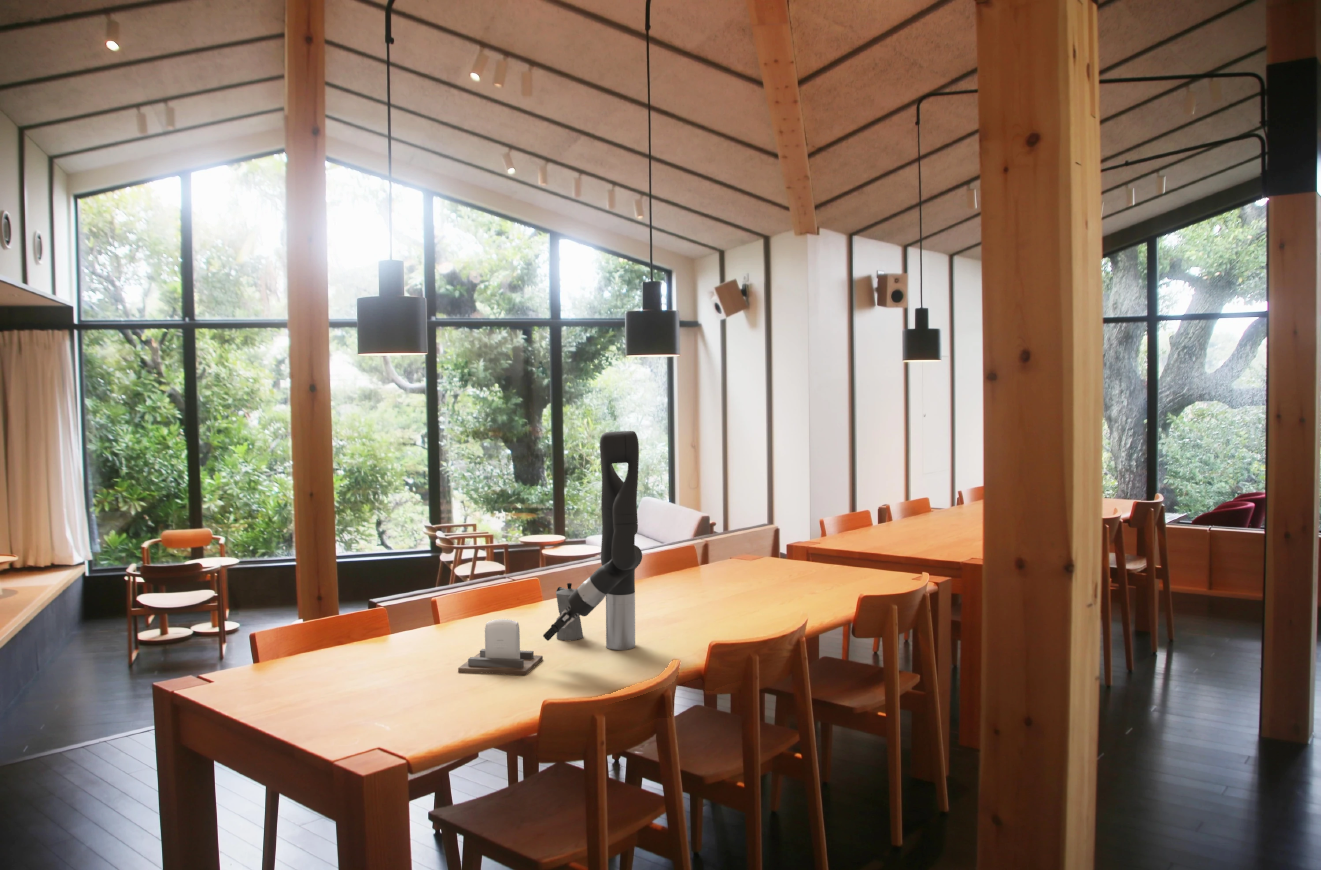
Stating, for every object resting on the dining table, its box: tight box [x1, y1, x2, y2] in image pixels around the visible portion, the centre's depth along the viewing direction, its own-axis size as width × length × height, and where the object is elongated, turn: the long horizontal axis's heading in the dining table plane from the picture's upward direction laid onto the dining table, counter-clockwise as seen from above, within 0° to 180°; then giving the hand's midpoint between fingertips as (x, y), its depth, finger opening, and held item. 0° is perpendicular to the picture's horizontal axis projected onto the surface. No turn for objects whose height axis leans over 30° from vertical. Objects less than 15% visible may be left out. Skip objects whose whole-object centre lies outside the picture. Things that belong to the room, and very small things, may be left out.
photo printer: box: [484, 618, 521, 659], centre depth 253 cm, size 10×4×12 cm, turn 85°
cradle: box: [457, 648, 544, 676], centre depth 253 cm, size 16×20×3 cm
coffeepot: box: [555, 582, 584, 641], centre depth 286 cm, size 15×9×18 cm, turn 33°
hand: (549, 634), depth 250 cm, fingers open, 8 cm apart
